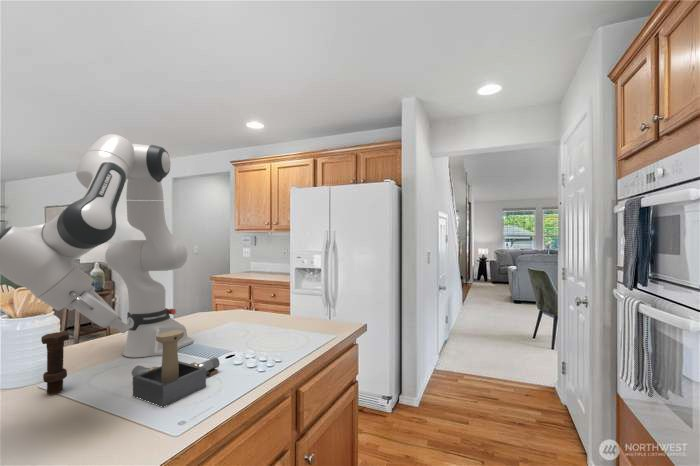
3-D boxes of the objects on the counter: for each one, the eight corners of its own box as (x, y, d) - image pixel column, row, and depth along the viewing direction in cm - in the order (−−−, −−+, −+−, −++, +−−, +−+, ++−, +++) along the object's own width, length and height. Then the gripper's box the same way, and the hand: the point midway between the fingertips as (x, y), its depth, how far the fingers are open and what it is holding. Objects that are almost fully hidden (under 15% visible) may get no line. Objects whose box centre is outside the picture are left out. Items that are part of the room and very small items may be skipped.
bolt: (50, 399, 83) (51, 338, 83) (34, 397, 84) (35, 337, 84) (74, 388, 88) (74, 331, 88) (59, 386, 89) (59, 330, 89)
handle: (152, 394, 85) (152, 335, 85) (176, 384, 90) (176, 329, 91) (162, 398, 82) (163, 338, 83) (187, 388, 88) (187, 331, 88)
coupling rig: (183, 362, 106) (183, 347, 106) (230, 375, 97) (230, 357, 97) (113, 389, 88) (113, 370, 88) (162, 407, 78) (162, 386, 78)
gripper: (87, 283, 67) (143, 323, 73) (78, 274, 82) (125, 308, 88) (57, 309, 64) (119, 348, 70) (54, 295, 79) (105, 328, 85)
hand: (122, 326), depth 79 cm, fingers open, 8 cm apart
